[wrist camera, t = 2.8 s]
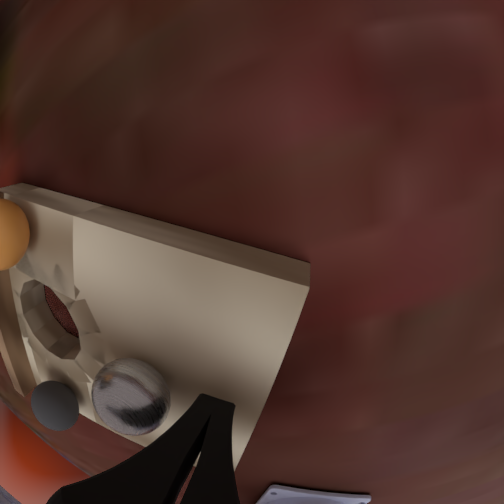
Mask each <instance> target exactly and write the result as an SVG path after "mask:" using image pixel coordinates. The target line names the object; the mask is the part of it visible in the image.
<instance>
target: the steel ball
mask: <svg viewBox="0 0 504 504" xmlns="http://www.w3.org/2000/svg"><path fill="white" fill-rule="evenodd" d="M91 393H92V402H93V405H94V408H95V410H96V412H97V414H98V416H99V417H100V419H101V420H102V421H103V422H104V423H105V424H106V425H107V426H109V427H110V428H111V429H113V430H115V431H117V432H119V433H121V434H125V435H130V436H139V435H145V434H148V433H151V432H153V431H154V430H156V429H157V428H159V427H160V426H161V425H162V424H163V422H164V421H165V419H166V418H167V416H168V413H169V410H170V406H171V396H170V391H169V387H168V385H167V383H166V381H165V379H164V377H163V376H162V375H161V374H160V373H159V371H158V370H156V369H155V368H154V367H153V366H151V365H150V364H148V363H146V362H144V361H142V360H139V359H134V358H120V359H116V360H113V361H111V362H109V363H107V364H106V365H105V366H103V367H102V368H101V369H100V370H99V372H98V373H97V375H96V376H95V378H94V381H93V384H92V392H91Z"/></svg>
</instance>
